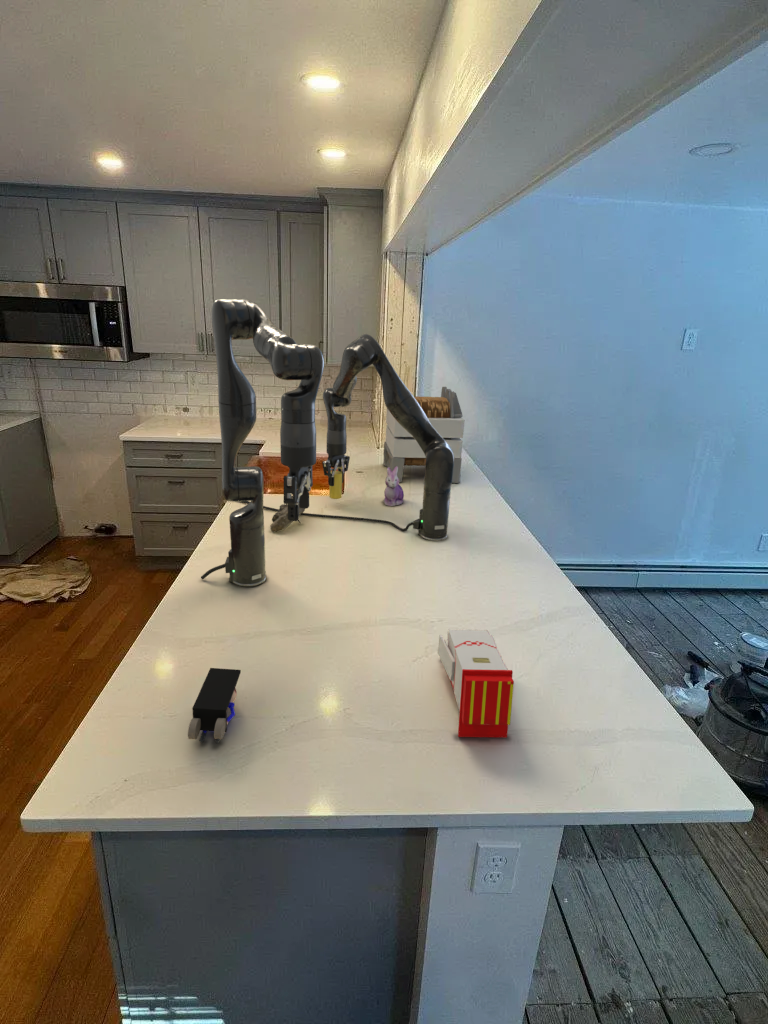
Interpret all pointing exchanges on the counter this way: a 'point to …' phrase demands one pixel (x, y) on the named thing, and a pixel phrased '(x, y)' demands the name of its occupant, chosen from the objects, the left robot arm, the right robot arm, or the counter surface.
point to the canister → (336, 486)
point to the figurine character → (214, 704)
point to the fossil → (283, 518)
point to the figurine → (393, 488)
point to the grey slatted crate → (443, 419)
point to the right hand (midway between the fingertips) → (335, 484)
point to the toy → (478, 682)
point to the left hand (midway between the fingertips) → (299, 513)
